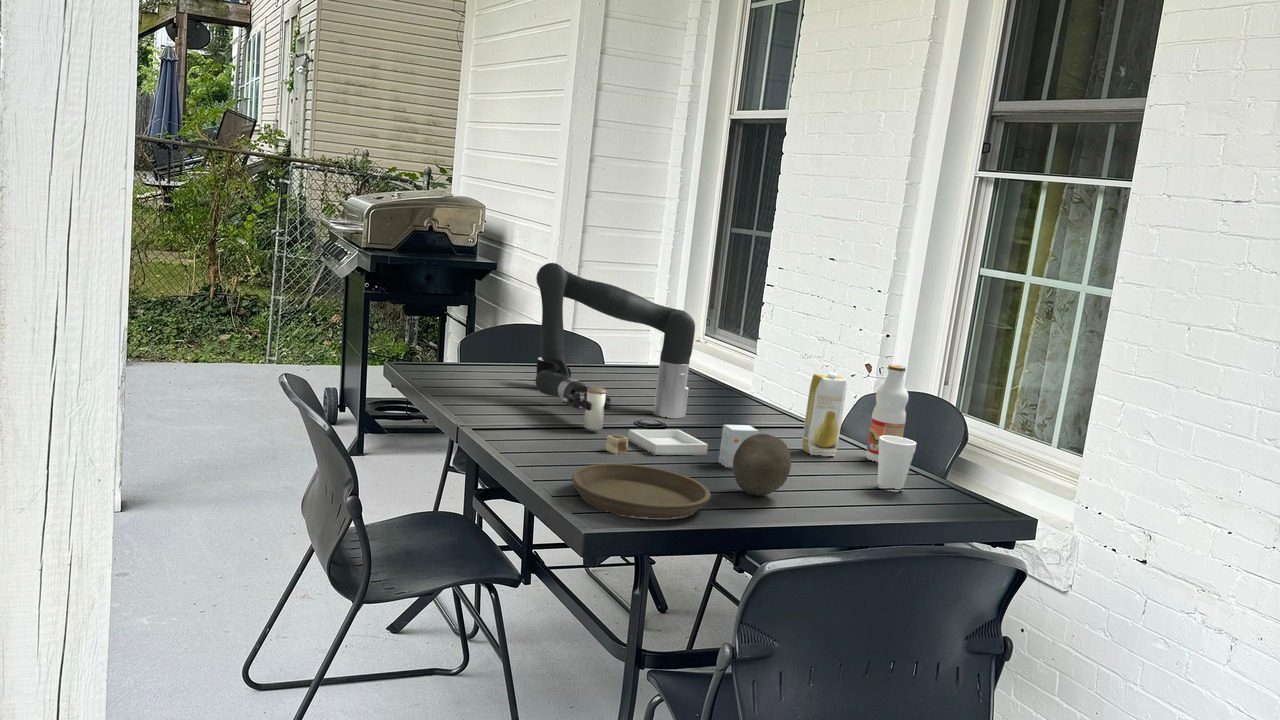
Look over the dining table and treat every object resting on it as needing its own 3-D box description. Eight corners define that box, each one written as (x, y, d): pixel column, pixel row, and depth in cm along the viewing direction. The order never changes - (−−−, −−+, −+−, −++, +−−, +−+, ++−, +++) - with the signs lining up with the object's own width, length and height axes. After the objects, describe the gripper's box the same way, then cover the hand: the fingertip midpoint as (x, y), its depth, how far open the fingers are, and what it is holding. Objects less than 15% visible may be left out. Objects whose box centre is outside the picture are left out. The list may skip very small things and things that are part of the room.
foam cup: (864, 484, 265) (871, 436, 263) (886, 482, 271) (894, 434, 269) (893, 495, 258) (901, 446, 256) (915, 492, 264) (923, 444, 262)
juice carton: (809, 456, 289) (821, 373, 285) (797, 449, 297) (809, 368, 293) (838, 458, 292) (851, 376, 288) (826, 450, 299) (839, 370, 296)
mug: (538, 392, 333) (542, 361, 332) (530, 386, 341) (534, 356, 340) (573, 393, 338) (576, 363, 337) (564, 387, 346) (568, 358, 345)
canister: (597, 424, 290) (601, 387, 289) (605, 429, 286) (609, 391, 284) (580, 425, 288) (584, 387, 286) (588, 429, 283) (592, 391, 281)
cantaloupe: (715, 491, 242) (724, 430, 240) (753, 484, 252) (761, 425, 250) (762, 508, 233) (771, 445, 230) (799, 501, 243) (808, 440, 240)
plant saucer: (731, 505, 233) (733, 486, 233) (666, 535, 207) (669, 514, 206) (616, 473, 248) (618, 455, 248) (542, 498, 222) (544, 477, 221)
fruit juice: (895, 467, 289) (911, 370, 285) (862, 460, 293) (877, 364, 288) (900, 460, 298) (916, 367, 293) (868, 454, 301) (883, 361, 297)
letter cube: (616, 449, 271) (618, 433, 271) (627, 453, 268) (629, 437, 268) (605, 450, 269) (607, 434, 268) (615, 454, 266) (617, 438, 265)
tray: (677, 439, 290) (678, 429, 290) (706, 455, 276) (707, 444, 276) (627, 440, 282) (628, 429, 282) (654, 456, 269) (656, 445, 268)
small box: (744, 463, 273) (750, 425, 271) (753, 469, 268) (759, 430, 266) (717, 462, 270) (722, 423, 268) (726, 468, 265) (731, 429, 263)
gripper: (553, 380, 294) (577, 393, 279) (598, 380, 301) (623, 393, 286) (550, 405, 295) (574, 420, 281) (595, 405, 302) (620, 419, 287)
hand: (599, 406), depth 284 cm, fingers closed on canister, 5 cm apart
